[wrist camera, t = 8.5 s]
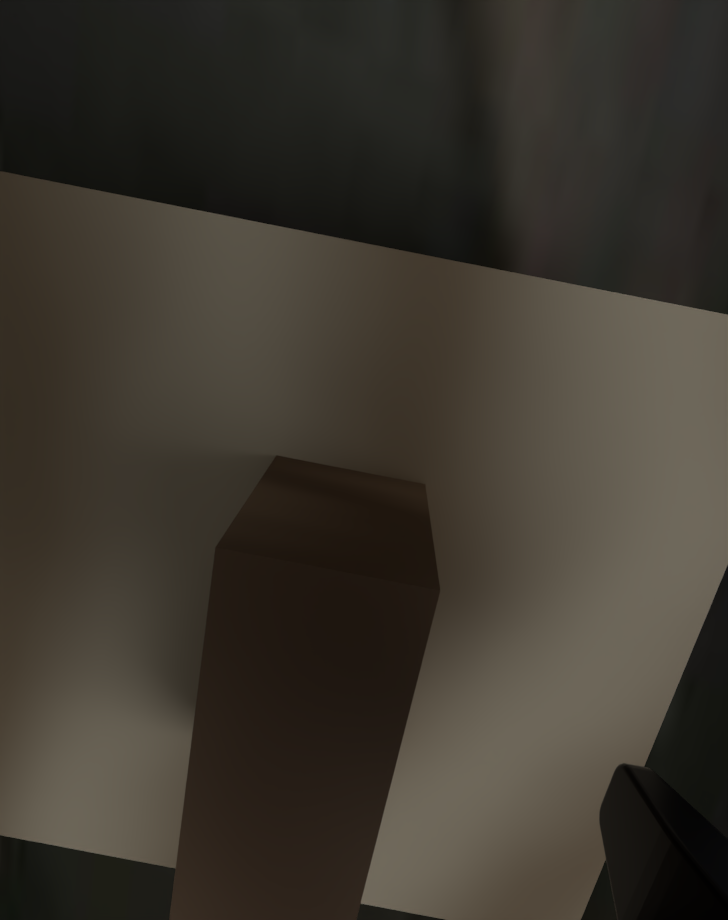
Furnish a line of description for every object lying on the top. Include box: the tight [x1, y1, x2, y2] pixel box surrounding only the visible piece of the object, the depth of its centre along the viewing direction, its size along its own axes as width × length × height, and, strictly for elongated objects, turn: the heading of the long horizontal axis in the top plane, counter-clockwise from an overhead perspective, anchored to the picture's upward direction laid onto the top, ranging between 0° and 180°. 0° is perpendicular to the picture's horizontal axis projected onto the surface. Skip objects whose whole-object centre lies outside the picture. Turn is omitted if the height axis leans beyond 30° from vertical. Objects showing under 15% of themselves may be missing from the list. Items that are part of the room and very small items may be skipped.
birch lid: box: [0, 171, 728, 920], centre depth 10 cm, size 13×13×4 cm
